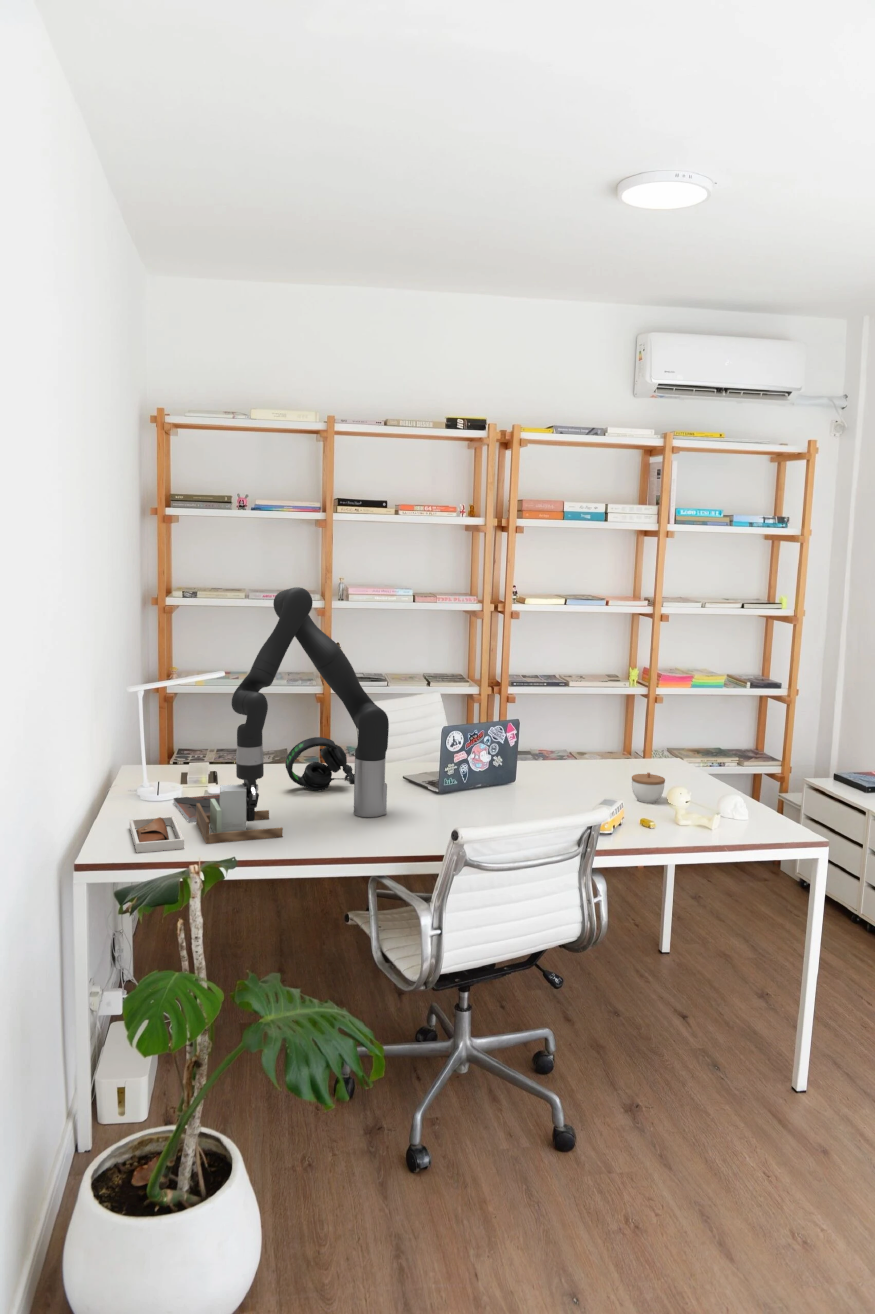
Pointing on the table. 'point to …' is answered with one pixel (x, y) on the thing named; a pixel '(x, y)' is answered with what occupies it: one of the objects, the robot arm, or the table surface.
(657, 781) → the lidded jar
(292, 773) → the headset
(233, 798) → the supplement box
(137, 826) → the case corral
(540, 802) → the table surface
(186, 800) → the picture frame
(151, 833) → the sunglasses case
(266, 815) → the lane
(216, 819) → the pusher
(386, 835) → the table surface
